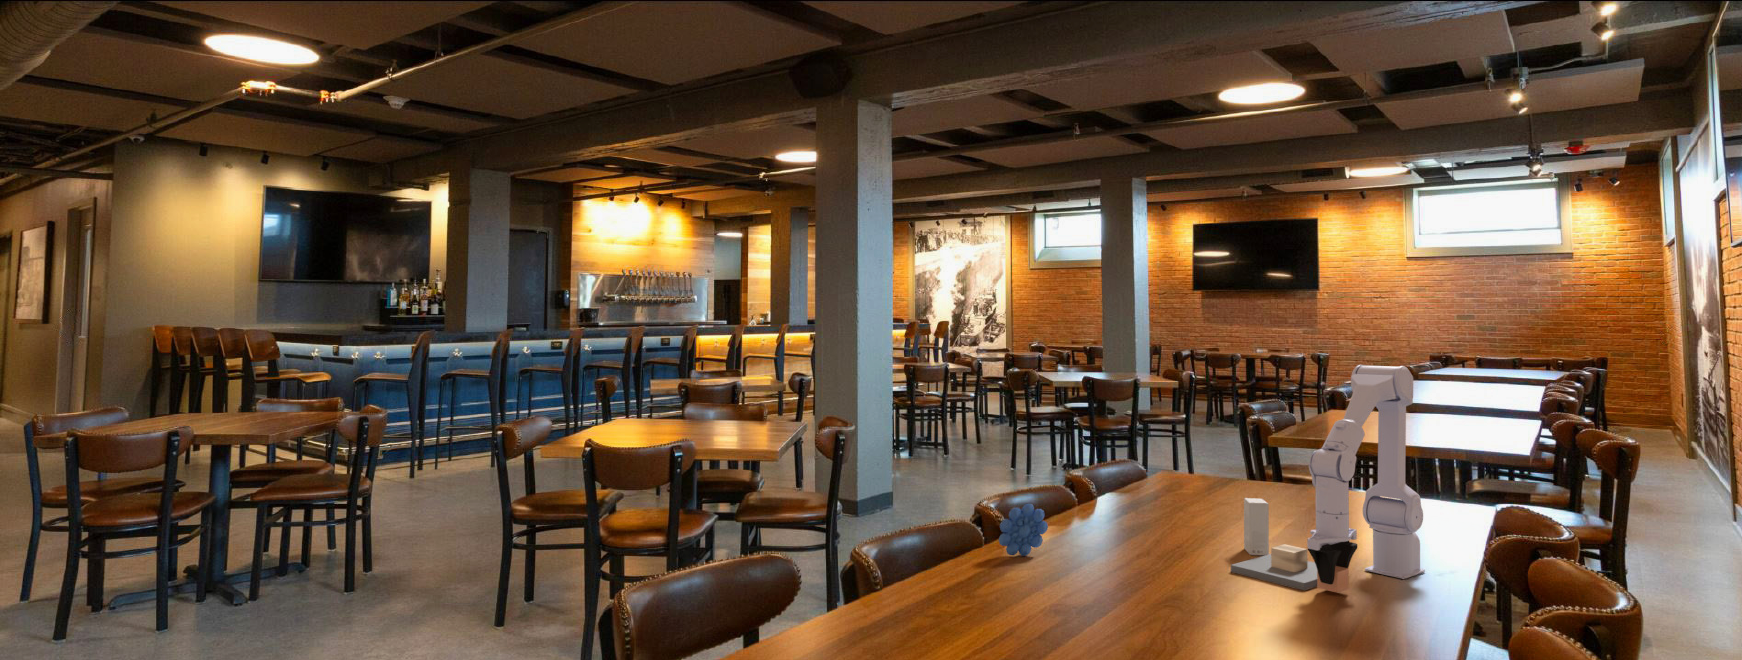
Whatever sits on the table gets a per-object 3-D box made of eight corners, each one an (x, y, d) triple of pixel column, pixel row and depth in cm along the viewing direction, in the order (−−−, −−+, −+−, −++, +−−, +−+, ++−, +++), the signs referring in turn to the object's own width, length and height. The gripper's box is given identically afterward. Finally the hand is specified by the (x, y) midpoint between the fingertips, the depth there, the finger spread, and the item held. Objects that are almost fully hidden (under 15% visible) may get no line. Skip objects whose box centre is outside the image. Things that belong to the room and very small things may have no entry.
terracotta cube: (1328, 584, 170) (1328, 563, 170) (1348, 589, 167) (1348, 568, 167) (1317, 587, 168) (1317, 567, 168) (1338, 592, 165) (1337, 572, 165)
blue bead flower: (1041, 549, 202) (1041, 499, 202) (1051, 557, 195) (1051, 504, 195) (993, 552, 200) (993, 500, 200) (1002, 560, 194) (1001, 506, 194)
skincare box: (1269, 556, 195) (1269, 503, 195) (1249, 555, 195) (1249, 502, 195) (1262, 549, 201) (1262, 498, 201) (1243, 548, 201) (1243, 497, 201)
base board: (1273, 559, 191) (1273, 553, 191) (1346, 576, 178) (1346, 569, 178) (1230, 571, 182) (1230, 564, 182) (1304, 590, 169) (1304, 583, 169)
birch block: (1284, 562, 183) (1284, 544, 183) (1307, 568, 179) (1307, 549, 179) (1271, 566, 181) (1271, 547, 181) (1294, 572, 177) (1294, 552, 177)
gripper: (1331, 503, 175) (1332, 569, 175) (1291, 512, 167) (1292, 582, 167) (1367, 509, 169) (1367, 578, 169) (1328, 519, 161) (1328, 591, 161)
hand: (1332, 581), depth 168 cm, fingers closed on terracotta cube, 4 cm apart
